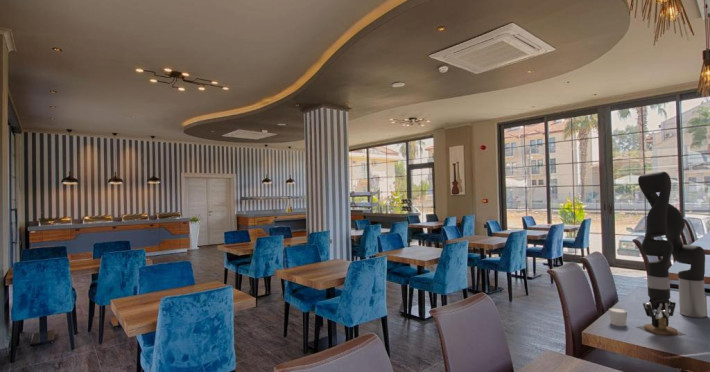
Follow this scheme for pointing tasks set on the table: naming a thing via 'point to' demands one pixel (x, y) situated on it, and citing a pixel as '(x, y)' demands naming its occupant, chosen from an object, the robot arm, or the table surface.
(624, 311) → the white short cylinder
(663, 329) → the walnut lid
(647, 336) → the table surface
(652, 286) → the robot arm
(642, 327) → the rubber mat
